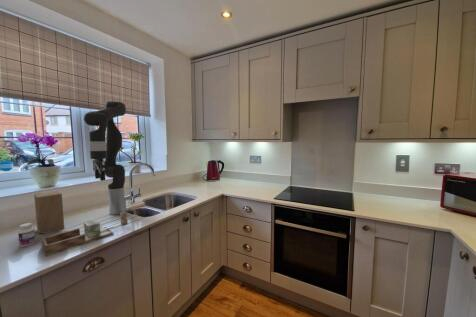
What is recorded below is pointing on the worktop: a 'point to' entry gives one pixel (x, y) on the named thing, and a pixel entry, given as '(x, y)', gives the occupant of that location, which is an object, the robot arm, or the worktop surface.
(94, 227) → the string block
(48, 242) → the lane
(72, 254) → the worktop surface
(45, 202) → the wooden block
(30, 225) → the pill bottle
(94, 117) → the robot arm
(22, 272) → the worktop surface
